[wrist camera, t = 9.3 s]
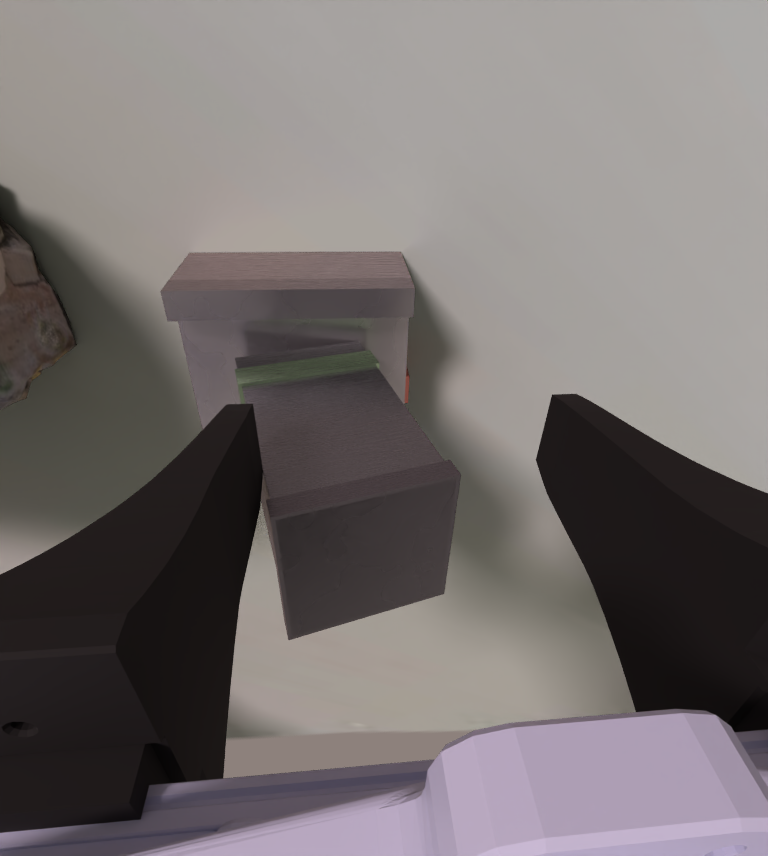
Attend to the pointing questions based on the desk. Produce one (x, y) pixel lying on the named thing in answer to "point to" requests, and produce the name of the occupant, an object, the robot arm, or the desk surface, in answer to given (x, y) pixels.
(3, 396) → the fossil rock
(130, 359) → the desk surface
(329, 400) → the grey rectangular block
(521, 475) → the desk surface
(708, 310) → the desk surface
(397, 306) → the stand block
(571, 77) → the desk surface
